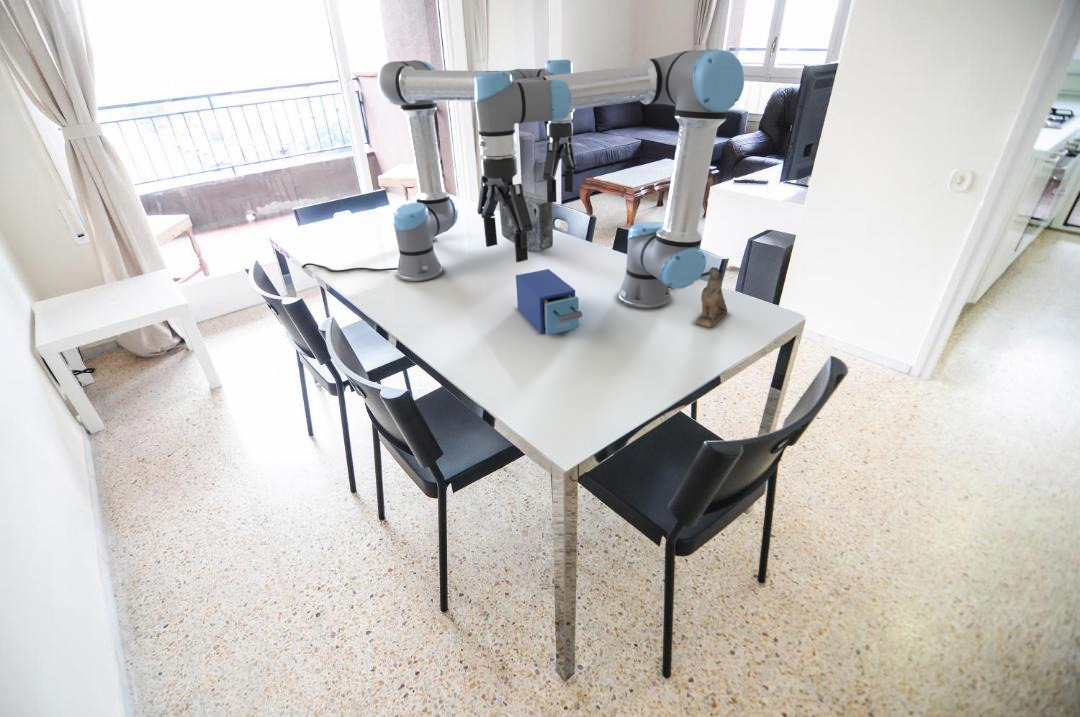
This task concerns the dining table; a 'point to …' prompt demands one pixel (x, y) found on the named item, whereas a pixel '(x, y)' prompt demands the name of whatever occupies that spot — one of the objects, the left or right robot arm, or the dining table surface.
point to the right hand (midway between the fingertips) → (506, 252)
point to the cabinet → (539, 294)
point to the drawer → (560, 314)
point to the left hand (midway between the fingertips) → (560, 196)
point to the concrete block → (540, 221)
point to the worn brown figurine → (712, 301)
